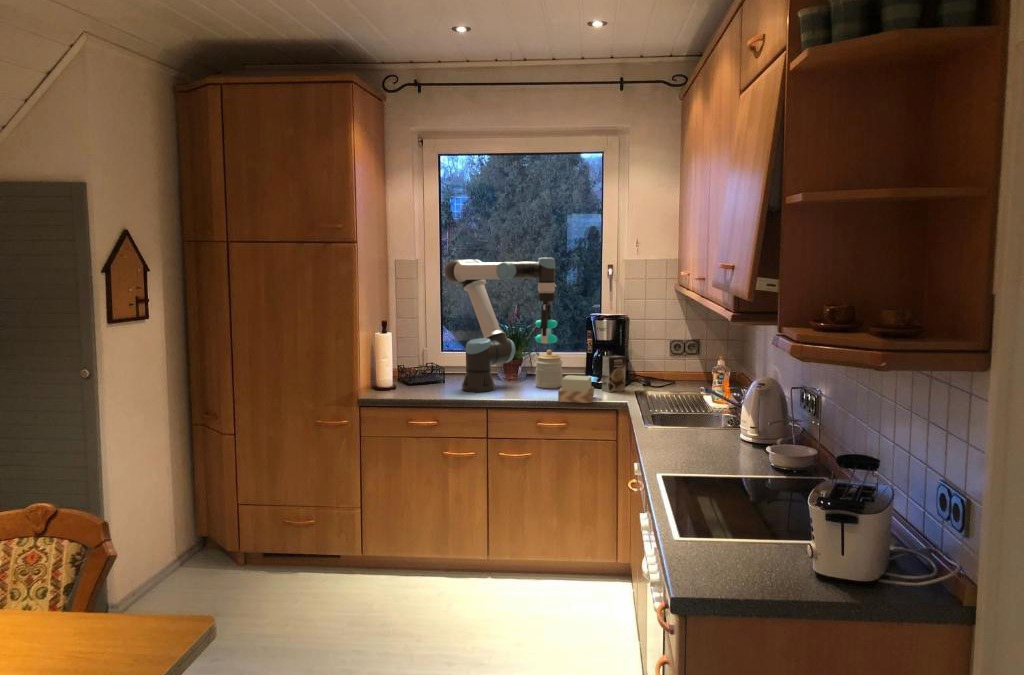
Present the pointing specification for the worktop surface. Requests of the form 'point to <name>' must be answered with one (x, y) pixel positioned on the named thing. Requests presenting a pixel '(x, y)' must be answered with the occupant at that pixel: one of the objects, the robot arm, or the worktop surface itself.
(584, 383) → the tower top
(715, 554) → the worktop surface
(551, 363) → the jar
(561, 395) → the tower base
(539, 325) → the donuts
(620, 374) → the coffee box
